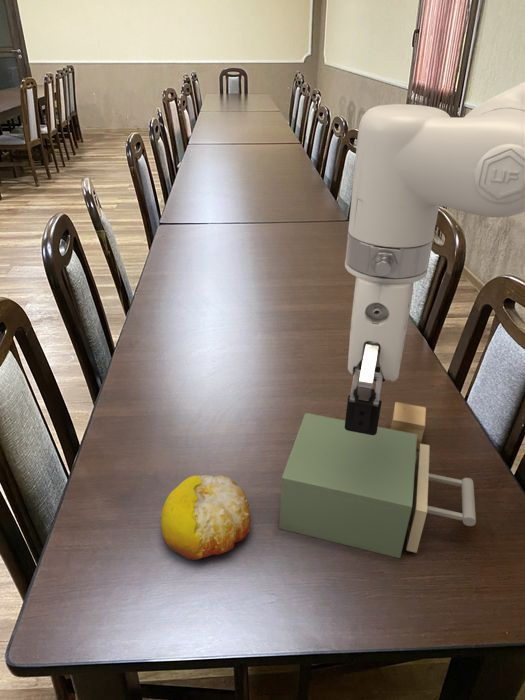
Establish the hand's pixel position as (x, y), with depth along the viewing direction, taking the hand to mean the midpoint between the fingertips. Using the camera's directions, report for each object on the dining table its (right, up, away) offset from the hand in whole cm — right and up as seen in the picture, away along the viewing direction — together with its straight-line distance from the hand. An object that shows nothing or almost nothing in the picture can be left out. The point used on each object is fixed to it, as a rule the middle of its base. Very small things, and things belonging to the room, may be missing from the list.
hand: (366, 403), depth 58 cm
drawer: (+4, -14, +10) cm, 18 cm away
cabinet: (0, -14, +11) cm, 18 cm away
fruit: (-18, -16, +8) cm, 25 cm away
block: (+10, -7, +23) cm, 26 cm away
